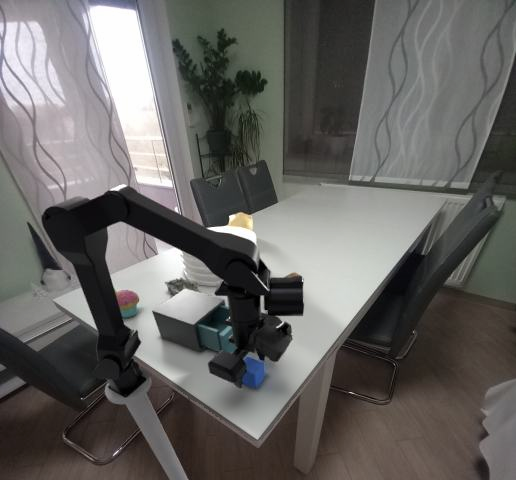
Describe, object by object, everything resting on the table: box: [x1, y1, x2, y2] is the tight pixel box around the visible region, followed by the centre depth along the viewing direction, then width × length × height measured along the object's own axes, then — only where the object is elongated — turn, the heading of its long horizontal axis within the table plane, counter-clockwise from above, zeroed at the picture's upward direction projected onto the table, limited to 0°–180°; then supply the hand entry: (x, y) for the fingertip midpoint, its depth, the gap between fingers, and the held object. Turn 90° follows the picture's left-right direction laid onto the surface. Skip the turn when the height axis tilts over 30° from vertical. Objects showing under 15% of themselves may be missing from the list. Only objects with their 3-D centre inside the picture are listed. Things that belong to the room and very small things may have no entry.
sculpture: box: [227, 211, 254, 231], centre depth 128 cm, size 11×12×11 cm
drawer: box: [196, 305, 237, 354], centre depth 68 cm, size 17×11×7 cm
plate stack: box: [179, 225, 258, 287], centre depth 102 cm, size 28×28×12 cm
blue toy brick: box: [242, 355, 266, 389], centre depth 59 cm, size 4×4×4 cm
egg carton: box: [164, 277, 199, 296], centre depth 91 cm, size 11×8×4 cm
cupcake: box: [114, 288, 140, 318], centre depth 80 cm, size 9×8×12 cm
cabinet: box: [151, 289, 226, 353], centre depth 72 cm, size 14×13×9 cm
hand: (251, 373), depth 59 cm, fingers open, 9 cm apart
